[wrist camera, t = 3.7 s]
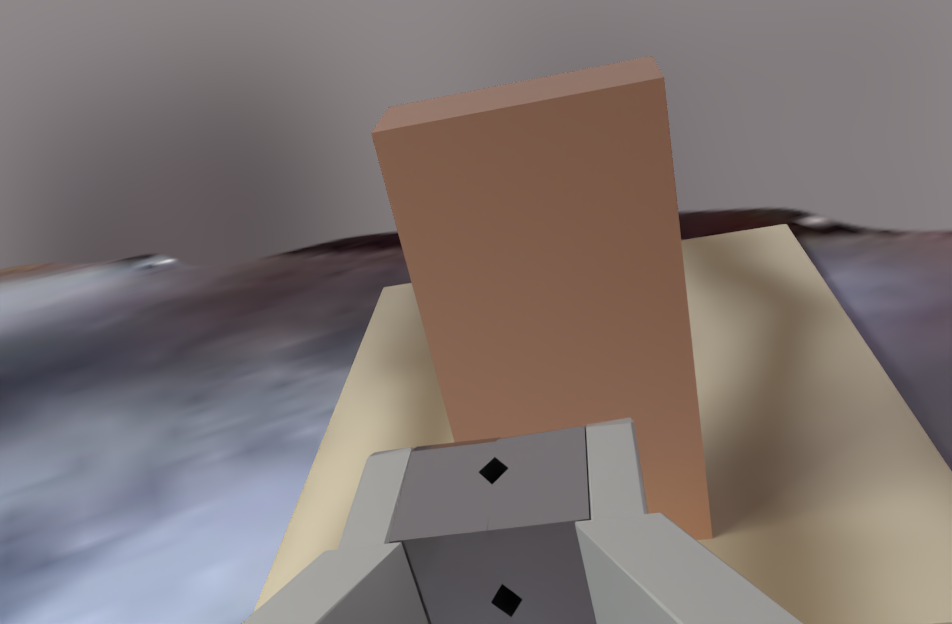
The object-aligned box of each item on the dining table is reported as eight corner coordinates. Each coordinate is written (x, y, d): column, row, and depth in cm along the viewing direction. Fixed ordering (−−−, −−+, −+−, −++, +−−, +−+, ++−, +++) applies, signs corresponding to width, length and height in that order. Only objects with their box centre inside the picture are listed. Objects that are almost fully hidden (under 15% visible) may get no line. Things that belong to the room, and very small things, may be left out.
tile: (486, 560, 26) (371, 133, 20) (492, 502, 29) (390, 104, 23) (712, 538, 25) (663, 77, 19) (698, 479, 28) (650, 53, 22)
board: (233, 693, 25) (226, 679, 24) (386, 296, 48) (383, 287, 47) (1044, 631, 21) (1047, 614, 21) (786, 234, 44) (786, 223, 44)
